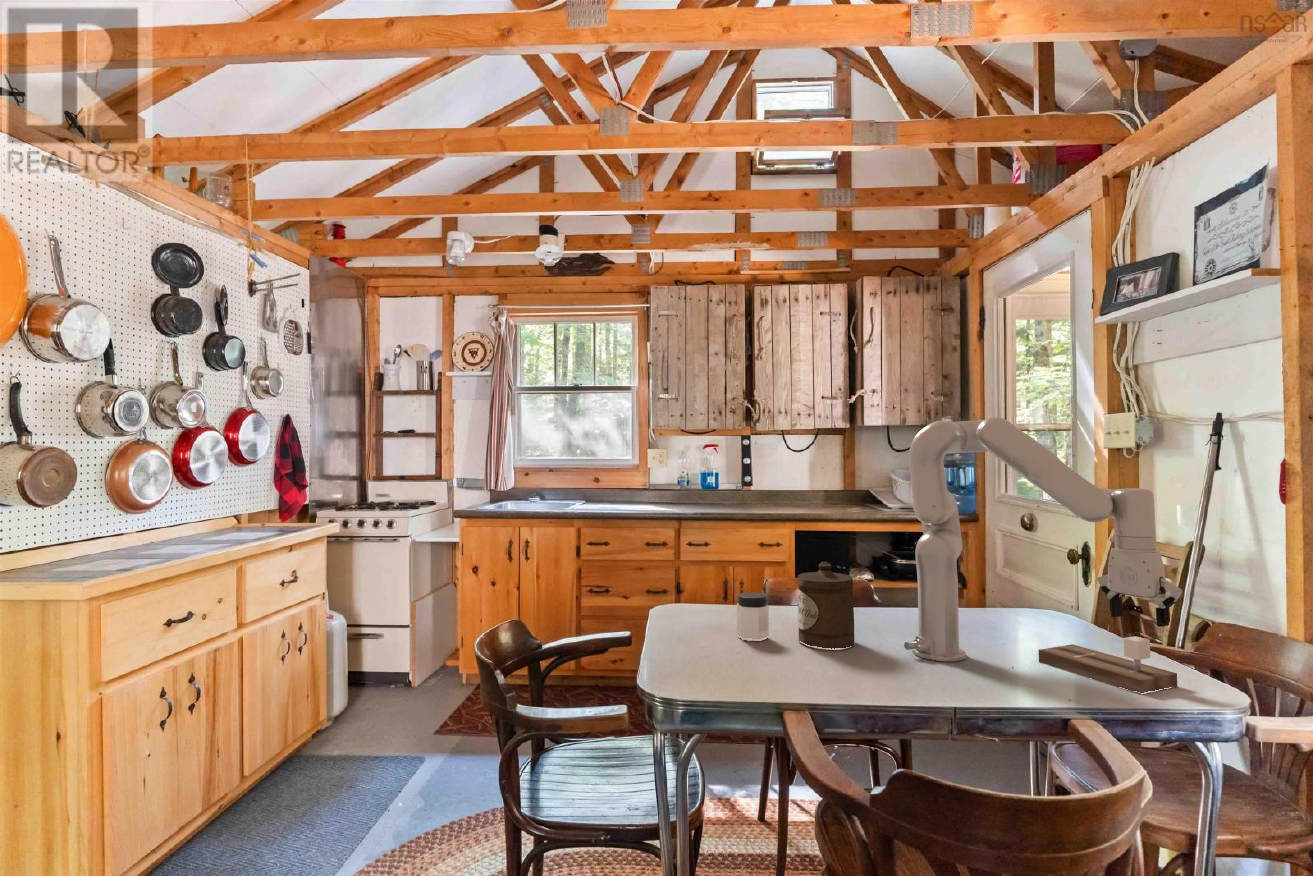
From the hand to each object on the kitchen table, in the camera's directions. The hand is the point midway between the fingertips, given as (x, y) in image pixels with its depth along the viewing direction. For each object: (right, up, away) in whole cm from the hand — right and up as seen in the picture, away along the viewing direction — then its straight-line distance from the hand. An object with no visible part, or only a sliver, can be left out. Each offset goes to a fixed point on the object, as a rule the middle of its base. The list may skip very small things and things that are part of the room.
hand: (1139, 621), depth 146 cm
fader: (0, -11, 0) cm, 11 cm away
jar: (-80, -16, +39) cm, 90 cm away
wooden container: (-61, -16, +33) cm, 71 cm away
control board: (-3, -14, +7) cm, 16 cm away
